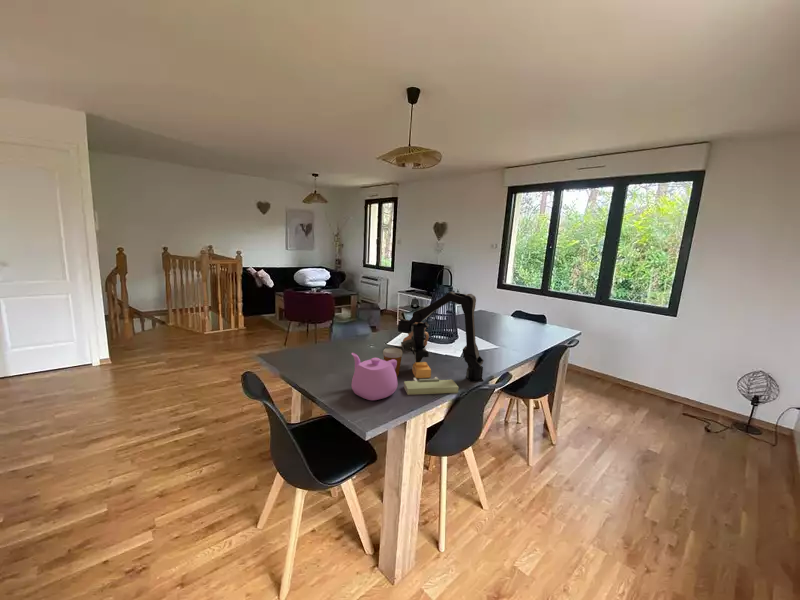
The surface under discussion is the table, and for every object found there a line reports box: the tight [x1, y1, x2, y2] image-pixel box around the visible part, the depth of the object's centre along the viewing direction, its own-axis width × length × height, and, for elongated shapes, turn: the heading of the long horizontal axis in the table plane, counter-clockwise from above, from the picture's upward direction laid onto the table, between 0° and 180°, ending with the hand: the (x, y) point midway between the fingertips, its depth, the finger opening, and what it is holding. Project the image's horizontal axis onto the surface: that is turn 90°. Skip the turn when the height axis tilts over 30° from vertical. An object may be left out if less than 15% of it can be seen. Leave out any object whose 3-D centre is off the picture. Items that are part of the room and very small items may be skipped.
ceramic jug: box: [402, 321, 429, 347], centre depth 213 cm, size 18×14×14 cm
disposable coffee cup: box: [382, 347, 404, 377], centre depth 169 cm, size 10×10×12 cm
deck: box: [403, 376, 460, 396], centre depth 157 cm, size 22×14×3 cm, turn 100°
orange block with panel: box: [411, 361, 432, 379], centre depth 171 cm, size 7×8×5 cm
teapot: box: [351, 352, 398, 401], centre depth 151 cm, size 23×21×15 cm
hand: (417, 365), depth 180 cm, fingers closed
